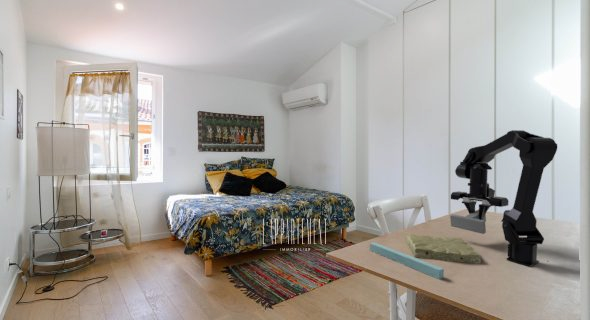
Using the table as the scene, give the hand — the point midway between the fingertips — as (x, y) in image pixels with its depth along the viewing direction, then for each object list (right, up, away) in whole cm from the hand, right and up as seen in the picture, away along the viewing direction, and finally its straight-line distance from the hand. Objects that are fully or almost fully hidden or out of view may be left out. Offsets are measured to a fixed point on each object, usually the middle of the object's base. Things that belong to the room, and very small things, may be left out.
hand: (477, 220), depth 114 cm
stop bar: (-37, -9, -22) cm, 44 cm away
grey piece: (-1, -2, -1) cm, 2 cm away
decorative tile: (-20, -9, -12) cm, 25 cm away
